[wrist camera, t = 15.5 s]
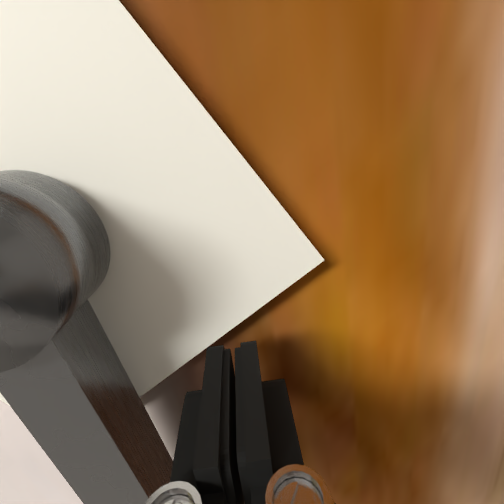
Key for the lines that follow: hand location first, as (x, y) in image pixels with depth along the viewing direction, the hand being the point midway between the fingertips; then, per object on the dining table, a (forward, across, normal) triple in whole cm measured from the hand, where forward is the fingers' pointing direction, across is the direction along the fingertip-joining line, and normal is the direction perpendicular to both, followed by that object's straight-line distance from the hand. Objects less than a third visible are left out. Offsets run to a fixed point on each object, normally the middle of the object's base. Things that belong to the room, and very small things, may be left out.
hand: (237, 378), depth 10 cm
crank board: (+2, +6, -5) cm, 8 cm away
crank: (+1, +5, +1) cm, 5 cm away
